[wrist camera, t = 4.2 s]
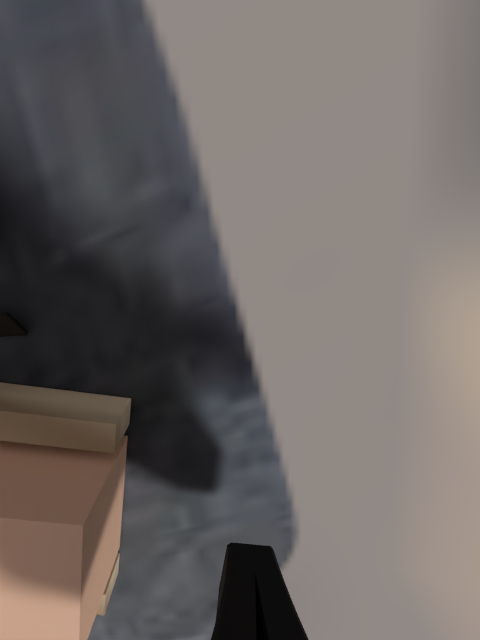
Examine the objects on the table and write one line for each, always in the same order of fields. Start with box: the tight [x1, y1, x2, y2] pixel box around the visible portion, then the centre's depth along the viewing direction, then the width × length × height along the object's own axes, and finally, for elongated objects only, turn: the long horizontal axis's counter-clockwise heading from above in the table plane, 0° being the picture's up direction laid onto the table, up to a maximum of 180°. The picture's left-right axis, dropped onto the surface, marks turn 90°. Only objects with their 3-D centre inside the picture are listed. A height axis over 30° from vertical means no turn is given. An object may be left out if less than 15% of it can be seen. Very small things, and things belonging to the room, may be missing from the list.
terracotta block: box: [0, 436, 128, 640], centre depth 10 cm, size 5×5×4 cm
